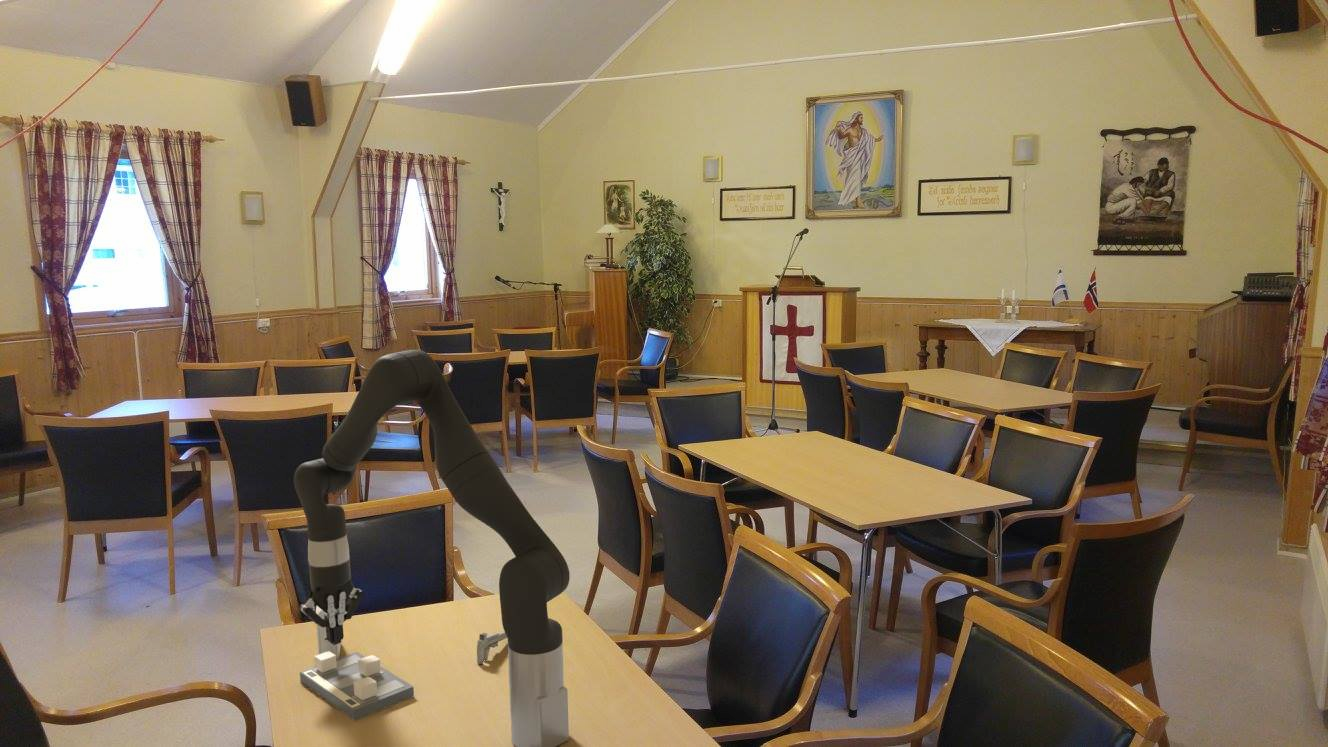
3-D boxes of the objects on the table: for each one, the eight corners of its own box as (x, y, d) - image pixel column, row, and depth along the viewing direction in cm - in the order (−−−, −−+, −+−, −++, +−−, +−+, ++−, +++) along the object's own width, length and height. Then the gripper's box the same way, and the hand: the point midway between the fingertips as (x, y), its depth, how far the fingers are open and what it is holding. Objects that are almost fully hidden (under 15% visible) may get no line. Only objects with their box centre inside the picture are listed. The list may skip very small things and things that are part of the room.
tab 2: (377, 694, 166) (376, 681, 166) (362, 700, 164) (361, 687, 164) (369, 689, 168) (368, 676, 168) (354, 694, 166) (353, 682, 166)
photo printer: (340, 661, 185) (336, 604, 183) (317, 664, 184) (313, 607, 182) (342, 641, 195) (338, 586, 193) (321, 643, 194) (317, 589, 192)
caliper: (481, 666, 183) (480, 637, 182) (477, 666, 183) (476, 636, 182) (528, 626, 202) (527, 599, 201) (524, 625, 202) (523, 599, 201)
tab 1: (336, 667, 177) (336, 655, 177) (322, 672, 175) (321, 660, 175) (329, 662, 179) (328, 650, 179) (315, 667, 177) (314, 655, 177)
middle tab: (380, 671, 175) (380, 659, 175) (366, 676, 173) (365, 664, 173) (373, 666, 177) (372, 654, 177) (358, 671, 175) (358, 659, 175)
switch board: (413, 696, 170) (413, 685, 170) (354, 720, 162) (353, 709, 161) (357, 660, 185) (356, 651, 185) (300, 681, 177) (299, 671, 176)
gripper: (304, 572, 168) (311, 659, 171) (369, 554, 178) (375, 637, 180) (287, 563, 174) (294, 648, 176) (351, 546, 183) (357, 627, 185)
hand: (335, 642), depth 178 cm, fingers closed
